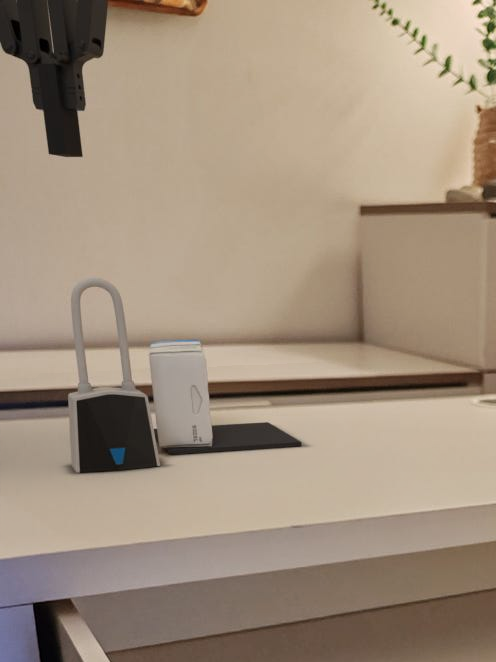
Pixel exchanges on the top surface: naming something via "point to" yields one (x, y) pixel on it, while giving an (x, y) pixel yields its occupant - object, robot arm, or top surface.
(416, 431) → the top surface
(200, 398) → the ink box
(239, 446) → the mat
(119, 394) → the padlock
